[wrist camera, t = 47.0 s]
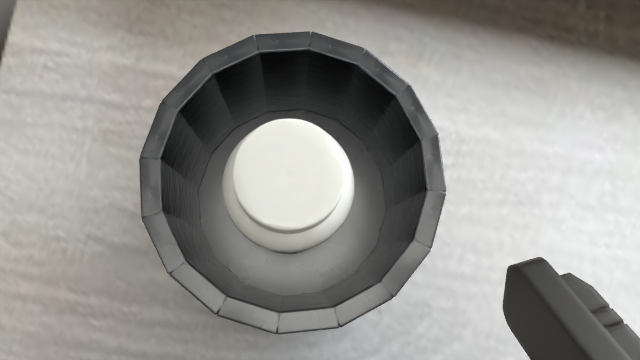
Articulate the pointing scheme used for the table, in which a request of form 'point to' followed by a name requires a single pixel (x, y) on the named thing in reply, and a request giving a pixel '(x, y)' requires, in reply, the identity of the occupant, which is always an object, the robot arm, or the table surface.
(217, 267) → the tin
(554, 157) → the table surface
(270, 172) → the pill bottle
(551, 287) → the robot arm
